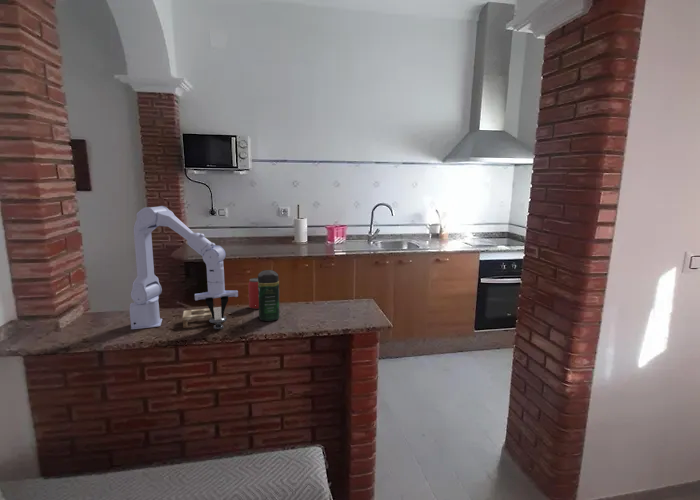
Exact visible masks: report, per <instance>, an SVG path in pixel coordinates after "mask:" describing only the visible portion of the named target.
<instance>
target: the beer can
mask: <svg viewBox="0 0 700 500" xmlns="http://www.w3.org/2000/svg"><path fill="white" fill-rule="evenodd" d="M248 281H249V282H248V286H247V287H248V307H249V308H250V309H252V310H259V298H258V277H253V278H250V279H249V280H248ZM255 305H256V306H255Z"/></svg>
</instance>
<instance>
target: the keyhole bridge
mask: <svg viewBox="0 0 700 500" xmlns="http://www.w3.org/2000/svg"><path fill="white" fill-rule="evenodd" d="M211 317H212V314H211V311H210V309H209V307H208V308H199V309H198V308H197V309H189V310H188V309H187V310H183V314H182V328H183V329H187V328H188V322H189V320H197V319H206V318H207V319H208V318H211ZM221 324H222V325H224V324H225V322H223V323H221Z"/></svg>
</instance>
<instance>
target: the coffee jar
mask: <svg viewBox="0 0 700 500" xmlns="http://www.w3.org/2000/svg"><path fill="white" fill-rule="evenodd" d="M257 278H258V298H259V309H258V318H259V320H260V321H263V322H265V321H266V322H273V321H276V320H278V319H280V279H279V274H278V273H277V272H276V271H274V270H273V269H267V270H262V271H260V272H259V273H258V274H257Z"/></svg>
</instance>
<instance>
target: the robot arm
mask: <svg viewBox="0 0 700 500" xmlns="http://www.w3.org/2000/svg"><path fill="white" fill-rule="evenodd" d="M158 227H168V228H169V229H171V230H172V231H174V232H175V233H176V234H178V235H179V236H181V237H182V238H184V239H185V240H186V242H187V243H186V244H187V246H189V247H190V248H191V249H192V250H194V251H195V252H196V253H197V254H198V255H200V256H202V260H203V263H205V266H206V267H205V268H206V281H207V283H206V285H207V291H205V292H204V291H203V292H200V293H194V300H195V301H199V300H205V304H206V305H207V307H208V308H209V309H210V311H211V314H212V318H213V319H215V318H214V308H215V307H214V299H219V298H220V307H221V316H222V318H224V317H223V316H225V315H224V314H225V309H226V307H227V305H228V302H229V298H230V297H231V298H232V297H235V298H237V297H239V291H238V290H237V289H235V290H231V289H230V290H226V287H225V286H226V285H225V269H224V260H225V258H226V256H227V254H226V253H227V252H226V251H225V249H224V248H223V247H222V246H221V245H216V243H215V242H212V241H210V240H209V239H208V238H206V235H205V234H204V233H201V232H194V231H192V229H190V227H188V226H187V225H186V224H185V223H184V222H182V220H180V219H179V218H178V217H177V216H176V215H175V214H174V212H173V211H172V210H170V209H169V208H168V207H167V206H165V205H158V206H151V207H149V206H146V207H145V206H144V207H142V208H141V209H140V210H139V211H138V212H136V220H135V223H134V226H133V238H134V239H133V240H134V241H133V242H134V252H135V266H136V277H135V279H134V281H133V282H132V288H131V292H130V298H131V300H132V301H133V302H130V304H129V319H130V330H139V329H140V330H141V329H147V328H148V329H149V328H150V329H151V328H156V327H157V328H158V327H161V325H162V321H163V318H161V317H160V316H161V315H160V314H161V313H160V305H159V299H160V295H161V294H162V292H163V289H162V285H161V284H160V282H159V281H160V280H159V277H158V276H156V274H155V265H154V253H153V239H152V232H153V231H154V230H156V229H157V228H158Z"/></svg>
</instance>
